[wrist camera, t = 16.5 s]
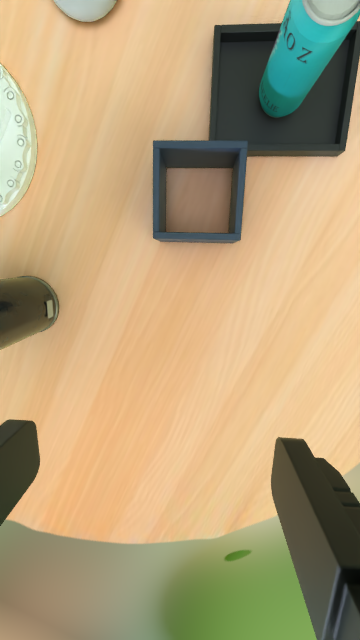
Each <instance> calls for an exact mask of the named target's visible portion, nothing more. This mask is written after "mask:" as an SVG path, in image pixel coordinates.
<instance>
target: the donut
mask: <svg viewBox="0 0 360 640" xmlns="http://www.w3.org/2000/svg"><path fill="white" fill-rule="evenodd" d="M116 1H117V0H54V2H55V3H56V5H57V6H58V7H59V8H60V9H61V10H62V11H63V12H64V13H65V14H67V15H68V16H69V17H71V18H73V19H76V20H79V21H81V22H92V21H96V20H98V19H100V18H102V17H104V16H105V15H106V14H107V13H108V12H109V11H110V10H111V9H112V8H113V7H114V5H115V3H116Z"/></svg>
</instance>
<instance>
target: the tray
mask: <svg viewBox="0 0 360 640" xmlns="http://www.w3.org/2000/svg"><path fill="white" fill-rule="evenodd" d="M281 24H282V23H278V24H240V25H215V27H214V42H213V64H212V87H211V109H210V131H209V141H248V147H247V156H338V155H340V154H341V153H343V152H344V151H345V148H346V142H347V135H348V128H349V122H350V115H351V109H352V102H353V96H354V89H355V83H356V76H357V70H358V63H359V56H360V21H356V22H355V24H354V26H353V27H352V29H351V30H350V31H349V33H348V34H347V36H346V37H345V39H344V40H343V42H342V43H341V45H340V46H339V48H338V49H337V51H336V52H335V54H334V55H333V57H332V58H331V60H330V61H329V63H328V64H327V66H326V67H325V69H324V70H323V72H322V73H321V75H320V76H319V78H318V79H317V81H316V82H315V83H314V85H313V86H312V88H311V89H310V91H309V92H308V94H307V95H306V97H305V98H304V100H303V101H302V103H301V104H300V106H299V107H298V108H297V109H296V110H295V111H293V112H292V113H290V114H288V115H286V116H283V117H279V118H274V117H271V116H269V115H267V114H266V113H265V112H264V110H263V108H262V106H261V103H260V98H259V87H260V83H261V80H262V77H263V74H264V72H265V69H266V66H267V63H268V60H269V58H270V55H271V52H272V49H273V47H274V44H275V41H276V38H277V36H278V33H279V30H280V27H281Z"/></svg>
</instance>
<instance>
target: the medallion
mask: <svg viewBox="0 0 360 640" xmlns="http://www.w3.org/2000/svg"><path fill="white" fill-rule="evenodd" d="M36 159H37V138H36V129H35V125H34V121H33V116H32V113H31V110H30V108H29V105H28V103H27V100H26V98H25V96H24V94H23V93H22V91H21V89H20V87H19V86H18V84H17V82H16V81H15V80H14V79H13V77H12V76H11V75H10V74H9V72H8V71H7V70H6V69H5V68H4V67H3V66H2V65H1V64H0V216H2V215H4V214H5V213H7V212H8V211H10V210H11V209H12V208H13V207H14V206H15V205H16V204H17V203H18V202H19V201H20V200H21V199H22V197H23V196H24V194H25V192H26V191H27V189H28V187H29V185H30V182H31V180H32V177H33V174H34V170H35V165H36Z"/></svg>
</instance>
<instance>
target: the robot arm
mask: <svg viewBox="0 0 360 640" xmlns="http://www.w3.org/2000/svg"><path fill="white" fill-rule="evenodd" d="M58 312H59V304H58V299H57V297H56V294H55V293H54V291H53V289H52V288H51V287H50V286H49V285H48V284H47V283H46V282H44V281H43V280H41V279H39V278H36V277H32V276H22V277H17V278H8V279H0V350H2V349H4V348H6V347H8V346H10V345H12V344H15V343H17V342H19V341H21V340H23V339H25V338H27V337H30V336H32V335H34V334H36V333H38V332H42V331H44V330H46V329H48V328H49V327H51V326H52V325H53V324H54V322H55V321H56V319H57V316H58ZM39 465H40V455H39V447H38V438H37V430H36V425H35V423H34V422H33V421H26V420H7V421H5V422H4V423H3V424H2V425H1V426H0V526H1V524H2V523H3V522H4V520H5V519H6V518H7V516H8V515H9V513H10V512H11V511H12V509H13V508H14V507H15V505H16V504H17V503H18V501H19V500H20V499H21V497H22V496H23V494H24V493H25V492H26V490H27V489H28V488H29V486H30V485H31V484H32V482H33V481H34V479H35V477H36V475H37V473H38V470H39ZM271 489H272V496H273V500H274V503H275V507H276V510H277V513H278V516H279V519H280V523H281V526H282V529H283V532H284V535H285V539H286V542H287V545H288V548H289V551H290V555H291V558H292V561H293V564H294V568H295V571H296V574H297V577H298V580H299V583H300V587H301V590H302V593H303V596H304V600H305V603H306V606H307V609H308V612H309V615H310V619H311V622H312V625H313V628H314V632H315V634H316V638H317V640H360V503H359V501H358V500H357V498H356V497H355V496H354V494H353V493H351V491H350V488H349V486H348V485H347V483H346V482H345V480H344V479H343V477H342V476H341V474H340V473H339V472H338V471H337V470H336V469H335V468H334V467H333V466H331V465H330V464H329V463H328V462H327V461H326V460H325V459H324V458H315V457H314V456H313V454H312V452H311V450H310V449H309V447H308V445H307V444H306V442H305V441H304V440H303V439H296V438H280V437H278V438H277V440H276V444H275V451H274V459H273V467H272V475H271Z"/></svg>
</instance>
